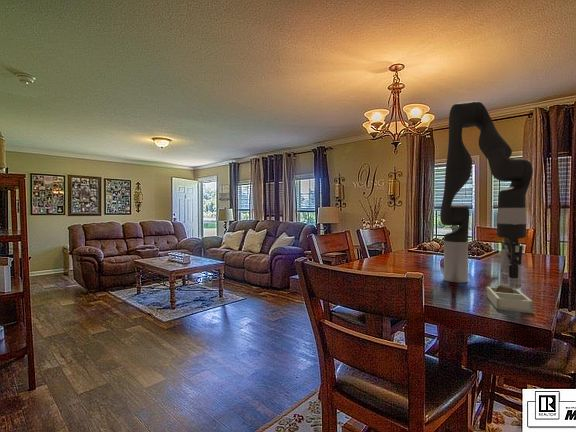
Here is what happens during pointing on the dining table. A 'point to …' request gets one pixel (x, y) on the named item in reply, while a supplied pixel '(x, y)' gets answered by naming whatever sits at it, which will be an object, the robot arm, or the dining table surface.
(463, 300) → the dining table surface
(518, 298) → the caddy
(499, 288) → the walnut ball
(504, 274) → the energy drink
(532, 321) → the dining table surface
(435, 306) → the dining table surface
